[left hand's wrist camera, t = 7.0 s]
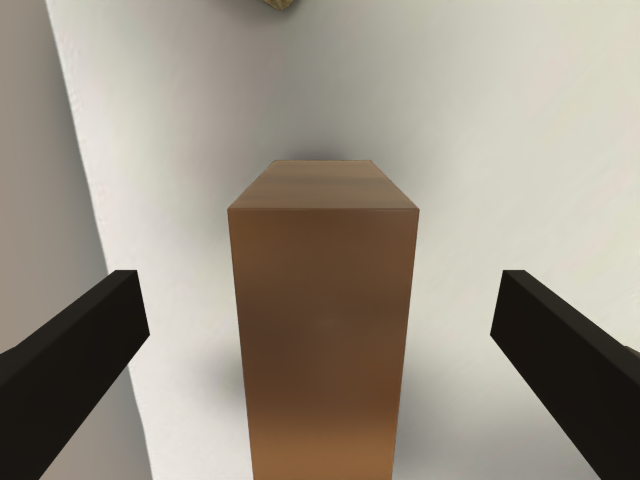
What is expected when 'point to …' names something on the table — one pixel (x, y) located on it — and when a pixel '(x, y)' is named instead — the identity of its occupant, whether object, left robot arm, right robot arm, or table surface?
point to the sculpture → (279, 3)
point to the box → (322, 316)
